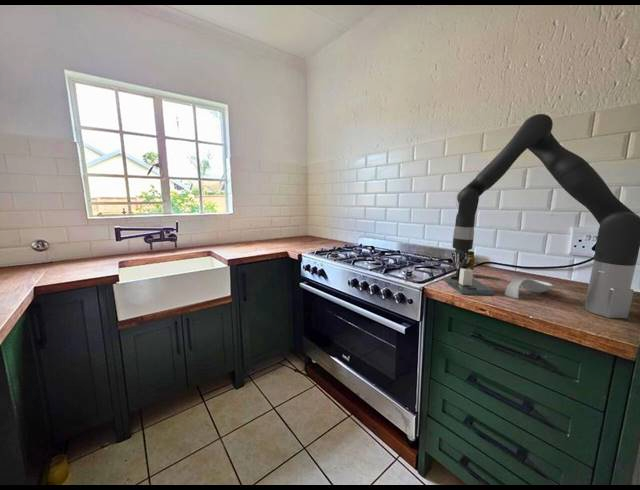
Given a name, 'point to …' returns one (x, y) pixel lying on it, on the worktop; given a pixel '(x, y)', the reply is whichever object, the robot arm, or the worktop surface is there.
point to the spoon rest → (526, 286)
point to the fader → (466, 276)
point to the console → (468, 287)
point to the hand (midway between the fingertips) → (458, 277)
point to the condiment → (471, 265)
